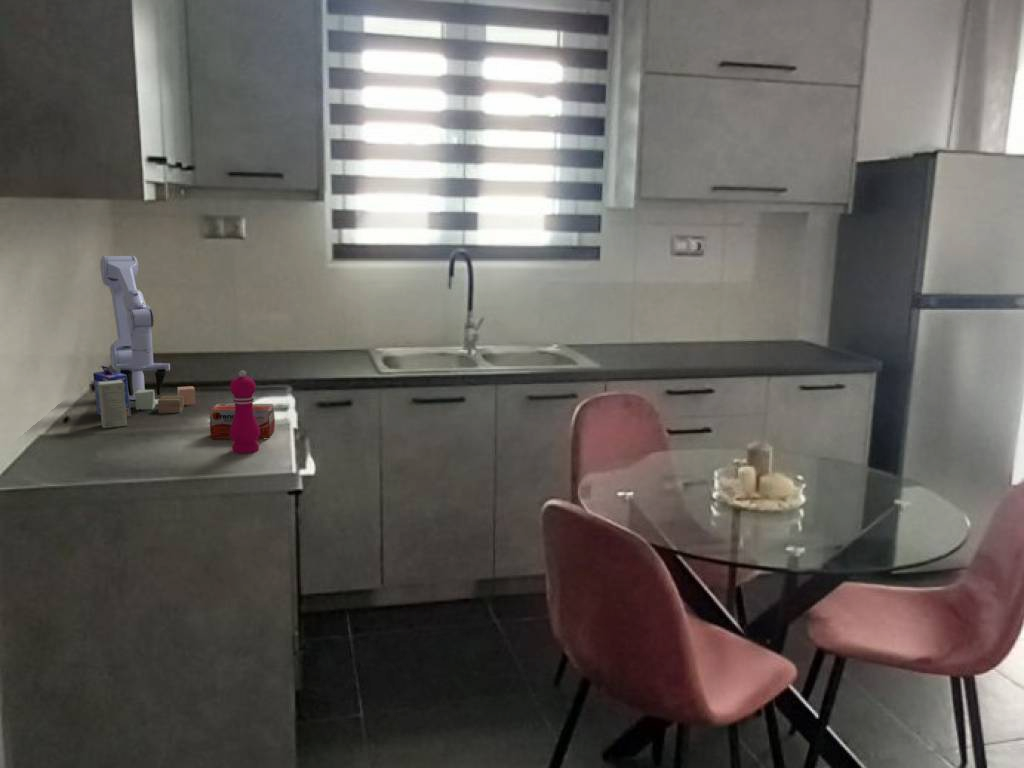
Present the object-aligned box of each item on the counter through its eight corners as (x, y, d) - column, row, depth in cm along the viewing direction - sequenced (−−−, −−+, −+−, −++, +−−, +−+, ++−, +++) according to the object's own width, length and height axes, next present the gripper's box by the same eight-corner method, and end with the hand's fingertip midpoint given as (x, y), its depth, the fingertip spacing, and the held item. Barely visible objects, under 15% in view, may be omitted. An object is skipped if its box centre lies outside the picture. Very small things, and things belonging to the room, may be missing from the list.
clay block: (178, 403, 265) (177, 387, 264) (193, 402, 267) (192, 386, 266) (180, 406, 261) (179, 389, 260) (195, 404, 263) (194, 388, 262)
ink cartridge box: (95, 414, 248) (91, 364, 245) (114, 411, 252) (110, 362, 250) (112, 419, 242) (108, 368, 239) (131, 416, 246) (127, 366, 243)
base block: (162, 409, 257) (162, 396, 256) (184, 408, 258) (183, 395, 257) (158, 413, 251) (157, 400, 250) (180, 413, 252) (179, 399, 251)
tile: (144, 400, 267) (143, 398, 267) (168, 399, 269) (167, 398, 268) (139, 405, 260) (139, 403, 260) (164, 404, 262) (163, 403, 262)
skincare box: (125, 422, 239) (122, 379, 237) (127, 426, 235) (124, 382, 233) (100, 425, 236) (97, 381, 234) (102, 428, 232) (98, 384, 230)
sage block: (139, 406, 259) (138, 390, 258) (155, 406, 260) (154, 389, 259) (136, 409, 255) (135, 393, 254) (152, 409, 256) (151, 392, 255)
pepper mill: (224, 450, 213) (220, 370, 209) (250, 444, 218) (247, 366, 215) (240, 455, 208) (237, 374, 205) (266, 450, 214) (263, 370, 210)
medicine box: (275, 431, 233) (274, 402, 231) (270, 439, 225) (269, 409, 223) (217, 432, 231) (215, 403, 229) (210, 440, 223) (208, 410, 221)
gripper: (112, 351, 249) (115, 398, 251) (165, 351, 252) (168, 396, 254) (118, 348, 256) (121, 393, 258) (170, 347, 259) (172, 392, 261)
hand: (145, 394), depth 257 cm, fingers open, 7 cm apart
